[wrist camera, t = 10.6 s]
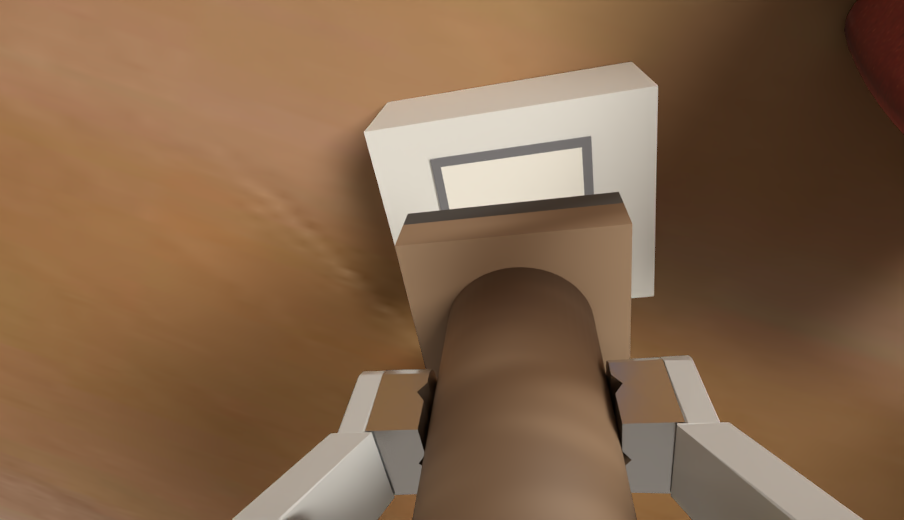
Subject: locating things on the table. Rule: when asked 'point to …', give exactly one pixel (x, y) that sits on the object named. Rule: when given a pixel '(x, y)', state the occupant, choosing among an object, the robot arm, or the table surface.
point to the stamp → (522, 356)
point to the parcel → (526, 149)
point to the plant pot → (880, 52)
